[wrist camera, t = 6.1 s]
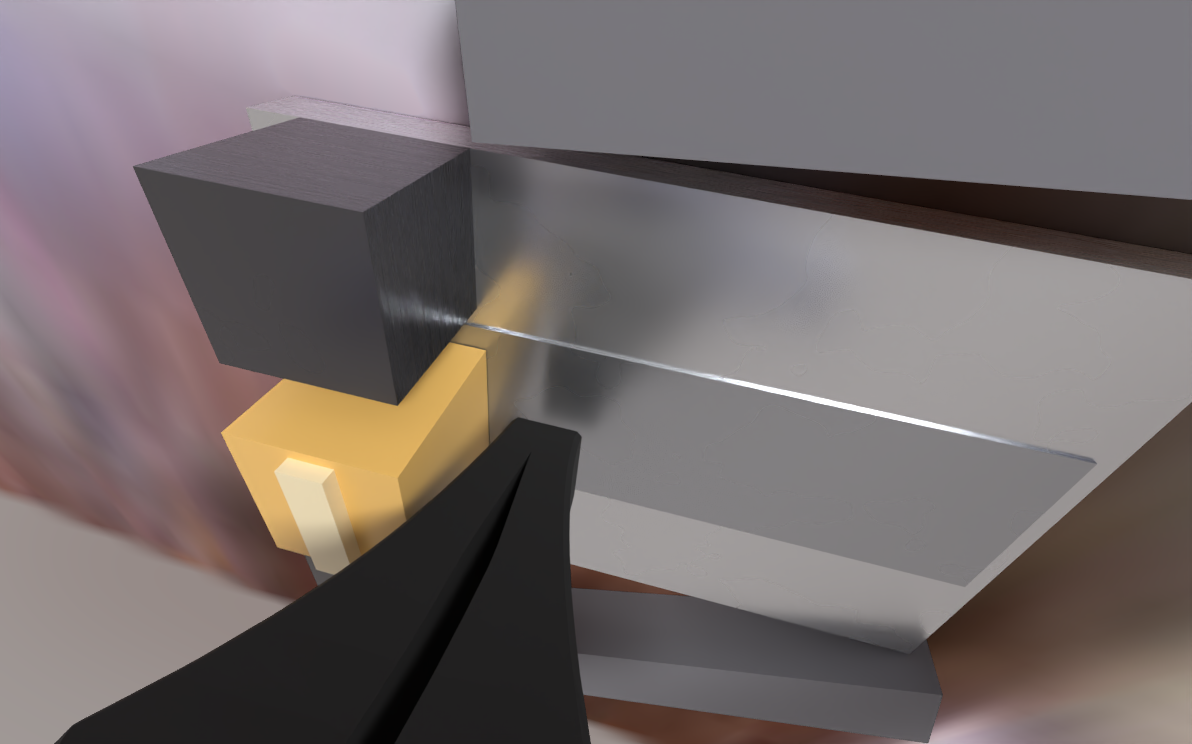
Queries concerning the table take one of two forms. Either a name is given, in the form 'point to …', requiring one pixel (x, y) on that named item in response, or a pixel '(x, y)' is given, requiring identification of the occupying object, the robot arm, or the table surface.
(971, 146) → the duct
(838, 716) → the duct
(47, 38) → the table surface
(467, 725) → the robot arm
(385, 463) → the orange l block
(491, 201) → the panel
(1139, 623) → the table surface
